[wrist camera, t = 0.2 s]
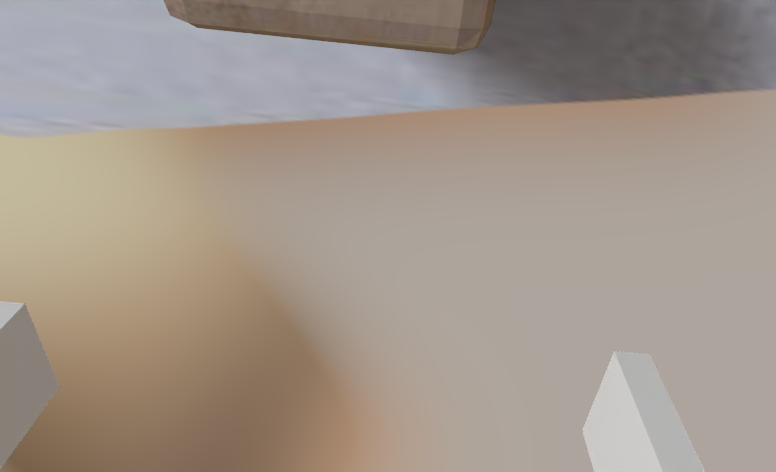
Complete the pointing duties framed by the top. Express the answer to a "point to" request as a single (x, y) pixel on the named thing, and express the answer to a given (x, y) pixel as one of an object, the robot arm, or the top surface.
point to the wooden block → (349, 20)
